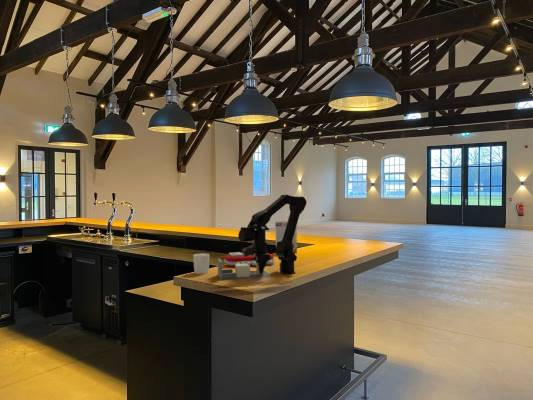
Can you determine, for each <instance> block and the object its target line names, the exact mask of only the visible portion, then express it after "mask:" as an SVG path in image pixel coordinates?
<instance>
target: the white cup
mask: <svg viewBox="0 0 533 400" xmlns="http://www.w3.org/2000/svg"><path fill="white" fill-rule="evenodd" d="M192 256H193V270H194V274H198V275H200V274H201V275H204V274H205V275H206V274H208V273H209V272H210V271H209V270H210V254H209V253H195V254H193V255H192Z"/></svg>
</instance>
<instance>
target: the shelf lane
mask: <svg viewBox="0 0 533 400" xmlns="http://www.w3.org/2000/svg"><path fill="white" fill-rule="evenodd" d="M233 270H234V269H233V268H229V269H223V261H222V260H221V258H217V277H218V278H219V280H220V281H233V280H235V281H236V280H248V279H265V278H273V276H272V275H271V274H270V273H268V272H267V271H265V270H264V274H257V273H250V277H237V276H236V273H235V272H233Z"/></svg>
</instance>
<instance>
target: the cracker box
mask: <svg viewBox="0 0 533 400" xmlns="http://www.w3.org/2000/svg"><path fill="white" fill-rule="evenodd" d="M287 222H288V220H275V221H274V223H275V225H274V226H275V247H276V246H277V242H278V241H279V242H281V240H282V239H283V236H284V233H285V229H286V226H287ZM297 231H298V230H297V226H296V230H295V233H294V237H293V240H292V244H293V253H294V254H297V253H298V241H297V239H298V238H297V237H298V236H297V233H298V232H297Z"/></svg>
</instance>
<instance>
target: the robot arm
mask: <svg viewBox="0 0 533 400" xmlns="http://www.w3.org/2000/svg"><path fill="white" fill-rule="evenodd" d="M307 203H308V201H307V200H306V198H305V197H304V196H293V195H290V194H281V195H280V196H279V197H278V198H277V199H275V201H273V202H272V203H270V204H269V205H268V206H267V207H266V208H265V209H263V210H259V211H258V212H256V213H254V214H253V215H252V216H251V219H250V221H249V222H248V224H247V227H244V226H243V227H242V226H241V227H240V230H239V231H238V234H237V235H238V236H237V237H238V240H239V241H240V242H241V243H245V242H252V241H253V242H252V244H251V245H249V246H246V247H244V248H242V249H241V253H242V252H243V254H244V256H245V257H247V256H249V255H251V256H252V255H254V257H252V258H253V259H254V260H255V261H256V263H258V266H259V271H260V274H261V273H263V270H264V271H265V268H266V267H267V266H266V264H267V261H269V260H271V256H270V255H269V254H270V253H269V254H267V253H268V251H267V245H268V243H267V241H266V239H267V238H266V231H270V228H269V227H268V226H267V224H268V223H269V222H270V221H271V218H272V216H274V215H275V214H276V213H277V212H278V211H280V210H281V209H282V208H284V206H286V205H288V206H289V215H288V219H287V221H288V222H287V226H286V229H285V233H284V236H283V239H282V240H281V242H279V241H278V242H277V246H276V245H275V254H276V256H277V258H278V260H280V262H279V272H280V273H281V274H282V275H284V274H285V275H286V274H287V275H289V274H296V271H295V262H296V261H297V259H298V257H297V255H296V253H293V244H292V240H293V237H294V233H295V230H296V227H297V225H298V222H299V218H300V215H301V214H302V213H303V211H304V210H305V209H306V206H307Z"/></svg>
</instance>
